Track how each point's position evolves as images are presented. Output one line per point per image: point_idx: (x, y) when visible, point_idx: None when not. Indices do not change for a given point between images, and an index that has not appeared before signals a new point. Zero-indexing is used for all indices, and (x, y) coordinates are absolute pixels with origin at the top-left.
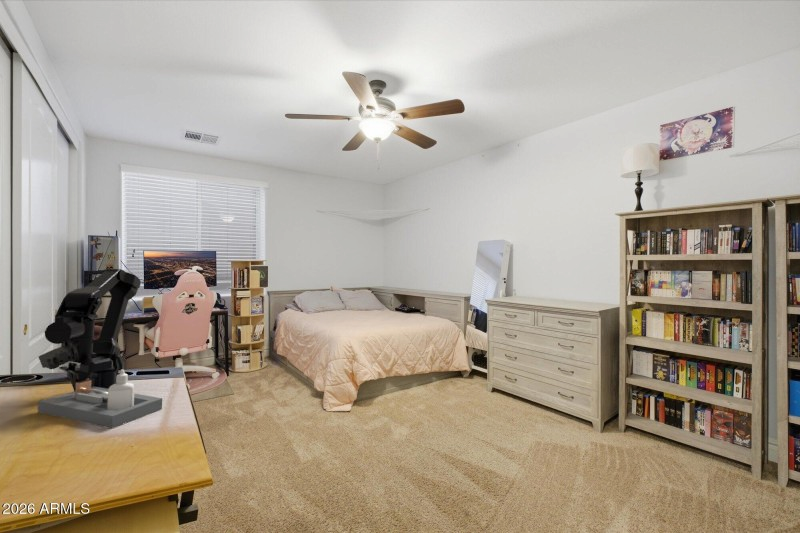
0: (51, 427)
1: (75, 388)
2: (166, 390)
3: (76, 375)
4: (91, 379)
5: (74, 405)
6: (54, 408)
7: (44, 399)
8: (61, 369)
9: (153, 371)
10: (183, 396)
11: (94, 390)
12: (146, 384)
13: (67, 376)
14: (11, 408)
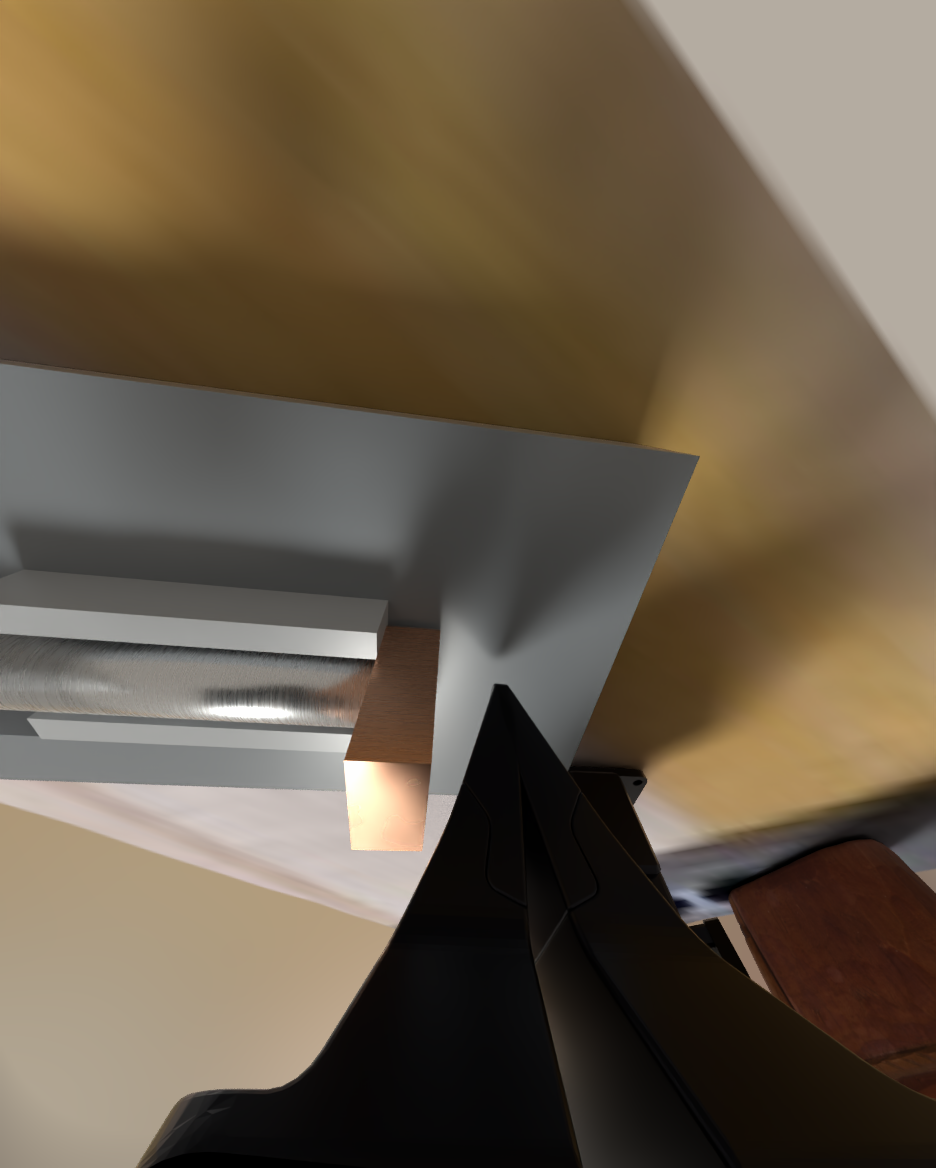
0: (98, 122)
1: (488, 706)
2: (267, 851)
3: (406, 911)
4: (631, 854)
5: (173, 455)
6: (423, 417)
7: (674, 512)
8: (924, 1107)
9: None
10: (90, 829)
11: (224, 713)
12: None
13: (886, 850)
14: (918, 455)
